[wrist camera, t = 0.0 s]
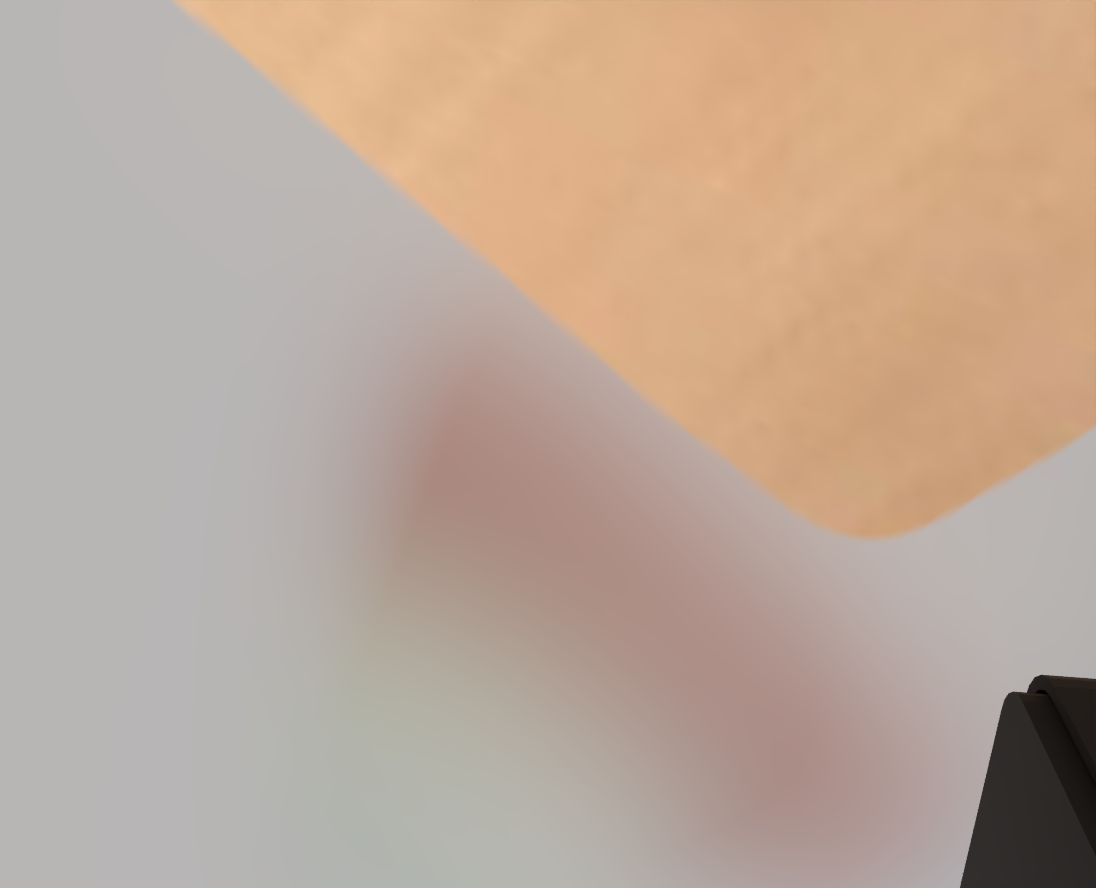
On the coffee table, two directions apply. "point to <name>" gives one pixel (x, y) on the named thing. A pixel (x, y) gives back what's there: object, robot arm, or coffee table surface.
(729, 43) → the coffee table surface
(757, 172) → the coffee table surface
